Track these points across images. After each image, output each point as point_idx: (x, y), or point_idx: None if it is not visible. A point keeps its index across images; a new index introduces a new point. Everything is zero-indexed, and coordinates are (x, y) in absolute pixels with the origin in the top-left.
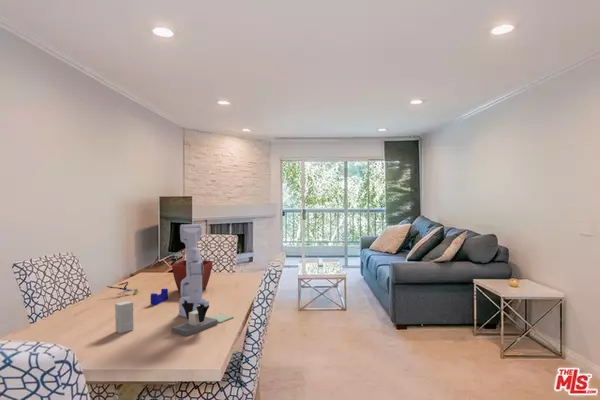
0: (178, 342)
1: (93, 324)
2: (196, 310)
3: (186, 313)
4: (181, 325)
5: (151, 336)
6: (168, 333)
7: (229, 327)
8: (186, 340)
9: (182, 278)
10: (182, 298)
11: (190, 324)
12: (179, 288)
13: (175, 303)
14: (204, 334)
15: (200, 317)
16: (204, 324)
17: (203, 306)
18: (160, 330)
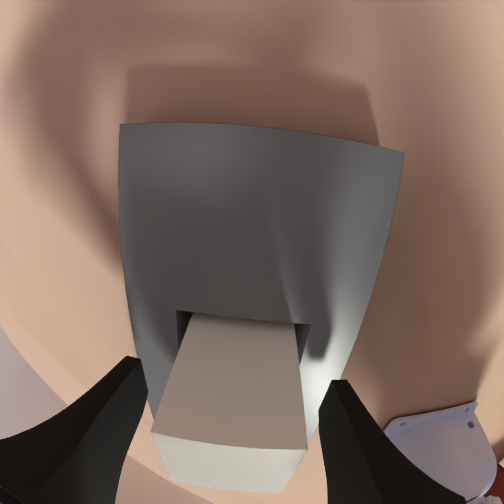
0: (111, 2)
1: None
2: (268, 492)
3: (365, 429)
4: (341, 260)
5: (444, 10)
6: (384, 104)
7: (77, 392)
8: (80, 66)
9: (499, 495)
10: (485, 486)
11: (267, 330)
12: (498, 470)
13: (499, 437)
14: (64, 249)
15: (90, 391)
16: (143, 368)
17: (4, 490)
18: (486, 154)
